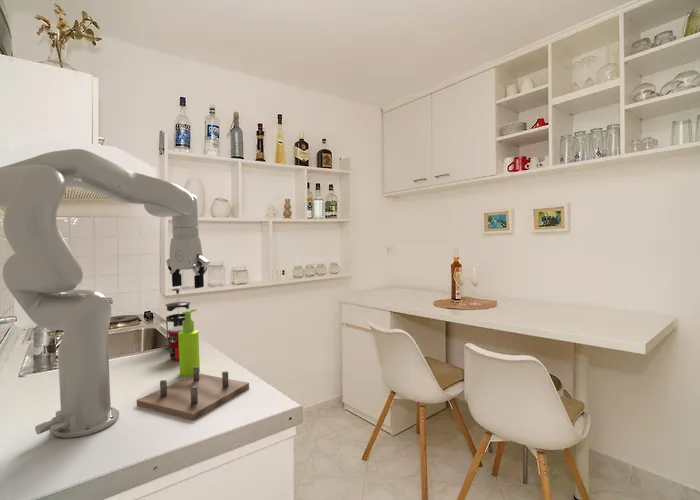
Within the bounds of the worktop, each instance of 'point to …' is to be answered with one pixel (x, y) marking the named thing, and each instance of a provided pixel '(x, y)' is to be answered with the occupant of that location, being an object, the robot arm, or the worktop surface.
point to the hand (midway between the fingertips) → (188, 286)
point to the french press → (175, 317)
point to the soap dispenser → (188, 346)
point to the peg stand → (193, 395)
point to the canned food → (174, 342)
